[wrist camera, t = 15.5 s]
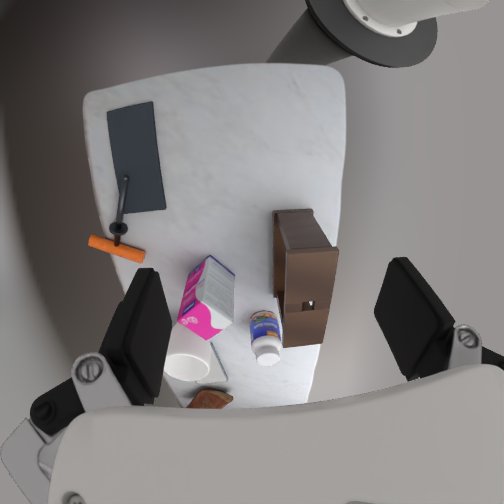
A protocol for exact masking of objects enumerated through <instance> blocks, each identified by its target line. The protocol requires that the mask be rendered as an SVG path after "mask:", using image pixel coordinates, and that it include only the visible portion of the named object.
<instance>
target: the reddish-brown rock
mask: <svg viewBox="0 0 504 504" xmlns="http://www.w3.org/2000/svg"><path fill="white" fill-rule="evenodd" d="M232 400H233V396H231V395H229V394H227V393H224V392H221V391H217V390H210V389H208V390H202V391H200V392H199V393H198V394H197V395H196V397H195V398H194V399H193V400H192V401H191V403H190V404H189V405H188V406H187V408H192V409H222V408H223V407H224V406H226V405H227V404H228V403H230V402H231V401H232Z"/></svg>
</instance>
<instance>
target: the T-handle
mask: <svg viewBox="0 0 504 504" xmlns="http://www.w3.org/2000/svg"><path fill="white" fill-rule="evenodd" d="M128 182H129V176H128V175H124V176H123V178H122V183H121V189H120V196H119V203H118V210H117V218H116V222H114V223H112V224H111V225H110V226H109V230H110V232H111V233H112V234H114V235H115V237H114V241H111V240H108V239H105V238H102V237H99V236H96V235H93V234H92V235H91V236H90V239H89V246H92V247H94V248H97V249H100V250H103V251H106V252H109V253H112V254H114V255H117V256H120V257H123V258H126V259H129V260H132V261H135V262H138V263H143V261H144V258H145V252H144V251H141V250H138V249H135V248H132V247H129V246H126V245H123V244H120V237H121V235H124V234H125V233H126V232H127V230H128V227H127V225H126V224H124V223H122V220H123V213H124V206H125V200H126V194H127V188H128Z"/></svg>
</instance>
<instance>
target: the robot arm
mask: <svg viewBox="0 0 504 504" xmlns="http://www.w3.org/2000/svg"><path fill="white" fill-rule="evenodd" d="M488 1H489V0H343V2H344V4H345V6H346V7H347V9H348V10H349V12H350V13H351V14H352V15H353V16H354V17H355V18H356V19H357V20H358V21H359V22H360V23H361V24H362V25H364V26H365V27H367V28H368V29H370V30H372V31H373V32H375V33H378V34H380V35H383V36H387V37H401V36H405V35H408V34H409V33H411V32H412V31H413V30H414V29H415V27H416V25H417V21H421V20H425V19H429V18H433V17H437V16H442V15H447V14H452V13H457V12H463V11H468V10H475V9H479V8H482V7H483V6H485V5H486V4H487V3H488ZM374 315H375V318H376V320H377V322H378V323H379V326H380V328H381V330H382V332H383V334H384V336H385V338H386V340H387V342H388V344H389V347H390V349H391V351H392V353H393V355H394V357H395V360H396V362H397V364H398V366H399V369H400V371H401V373H402V374H403V375H404V376H406V379H407V381H411V380H414V381H411V382H408V383H404V384H401V385H397V386H393V387H389V388H385V389H382V390H377V391H373V392H369V393H364V394H359V395H354V396H349V397H344V398H338V399H332V400H327V401H320V402H313V403H305V404H296V405H287V406H276V407H262V408H242V409H192V408H168V407H150V406H144V403H146V404H153V403H154V398H155V397H158V396H159V392H160V387H161V381H162V376H163V370H164V365H165V360H166V355H167V350H168V345H169V340H170V336H171V331H172V319H171V316H170V313H169V309H168V306H167V302H166V299H165V295H164V291H163V288H162V284H161V280H160V276H159V273H158V272H157V271H154V269H153V268H139V269H138V270H137V272H136V274H135V276H134V278H133V280H132V282H131V284H130V286H129V289H128V291H127V293H126V295H125V297H124V300H123V301H122V302H120V303H119V305H118V307H117V309H116V311H115V314H114V316H113V318H112V320H111V323H110V325H109V327H108V330H107V333H106V335H105V337H104V340H103V342H102V345H101V347H100V350H99V353H96V352H89V353H86V354H83V355H82V356H80V357H79V358H78V359H77V360H76V361H75V362H74V364H73V366H72V370H71V375H72V377H71V378H70V379H68V380H66V381H65V382H63V383H61V384H60V385H58V386H56V387H55V388H53V389H51V390H50V391H48V392H46V393H45V394H43V395H41V396H40V397H38V398H37V399H36V400H35V401H34V402H33V404H32V406H31V409H30V419H29V420H28V419H27V418H25V419H24V420H23V421H22V422H21V423H20V425H19V426H18V427H17V428H16V429H15V430H14V431H13V433H12V434H11V435H10V436H9V437H8V438H7V439H6V441H5V442H4V443H3V444H2V446H1V449H0V457H1V460H2V463H3V464H4V466H5V467H6V469H7V471H8V472H9V474H10V475H11V477H12V478H13V480H14V481H15V483H16V484H17V486H18V487H19V488H20V490H21V491H22V493H23V494H24V495H25V497H26V498H27V499H28V501H29V502H30V503H31V504H504V356H501V355H499V354H497V353H495V352H493V351H491V350H489V349H487V348H485V347H483V346H482V340H481V337H480V335H479V333H478V332H477V331H476V330H475V329H474V328H472V327H471V326H469V325H465V324H463V325H462V324H461V325H458V326H457V327H456V328H454V327H453V325H454V323H455V320H454V318H453V317H452V316H451V314H450V313H449V311H448V310H447V309H446V307H445V306H444V304H443V303H442V301H441V300H440V299H439V297H438V296H437V295H436V293H435V292H434V291H433V290H432V288H431V287H430V285H429V284H428V283H427V282H426V280H425V279H424V278H423V277H422V275H421V274H420V273H419V271H418V270H417V269H416V268H415V267H414V265H413V264H412V263H411V262H410V261H409V259H408V258H407V257H396V258H393V260H392V261H391V262H390V263H389V264H388V268H387V271H386V275H385V278H384V281H383V284H382V287H381V290H380V293H379V296H378V300H377V302H376V305H375V308H374ZM418 377H420V379H418ZM415 379H418V380H415Z"/></svg>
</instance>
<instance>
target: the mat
mask: <svg viewBox="0 0 504 504" xmlns="http://www.w3.org/2000/svg"><path fill="white" fill-rule="evenodd" d="M107 120H108V128H109V136H110V143H111V150H112V156H113V162H114V168H115V173H116V179H117V184H118V189H119V194H120V189H121V183H122V178H123V176H124V175H128V176H129V182H128V188H127V194H126V200H125V206H124V214H128V213H137V212H145V211H154V210H164V209H166V202H165V196H164V190H163V183H162V176H161V169H160V162H159V155H158V147H157V138H156V129H155V120H154V109H153V102H147V103H142V104H138V105H133V106H129V107H124V108H120V109H116V110H112V111H109V112H107Z"/></svg>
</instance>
